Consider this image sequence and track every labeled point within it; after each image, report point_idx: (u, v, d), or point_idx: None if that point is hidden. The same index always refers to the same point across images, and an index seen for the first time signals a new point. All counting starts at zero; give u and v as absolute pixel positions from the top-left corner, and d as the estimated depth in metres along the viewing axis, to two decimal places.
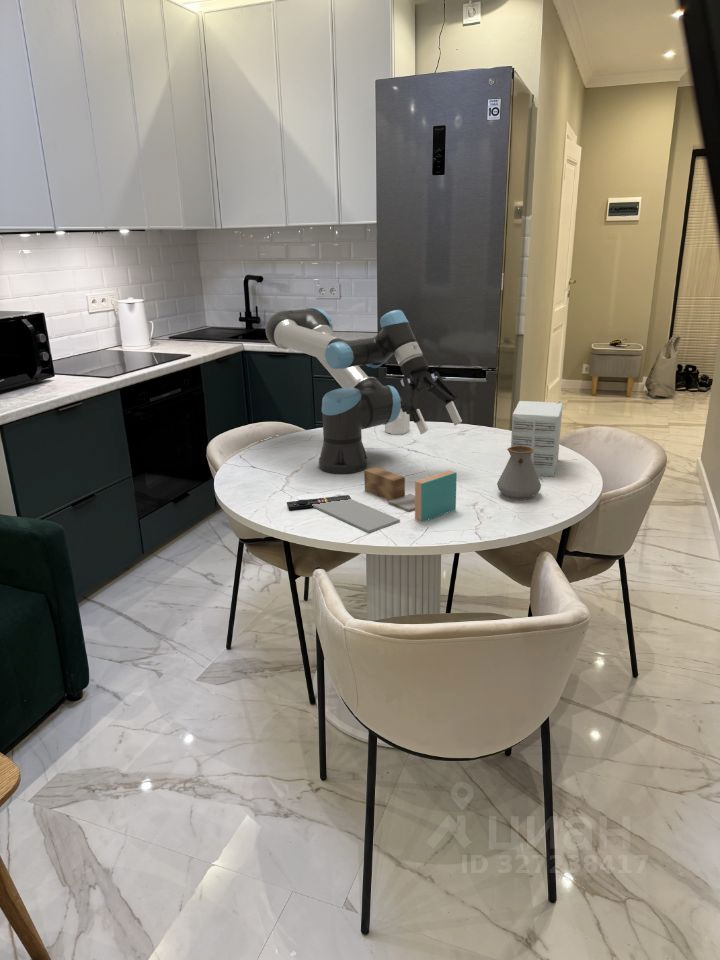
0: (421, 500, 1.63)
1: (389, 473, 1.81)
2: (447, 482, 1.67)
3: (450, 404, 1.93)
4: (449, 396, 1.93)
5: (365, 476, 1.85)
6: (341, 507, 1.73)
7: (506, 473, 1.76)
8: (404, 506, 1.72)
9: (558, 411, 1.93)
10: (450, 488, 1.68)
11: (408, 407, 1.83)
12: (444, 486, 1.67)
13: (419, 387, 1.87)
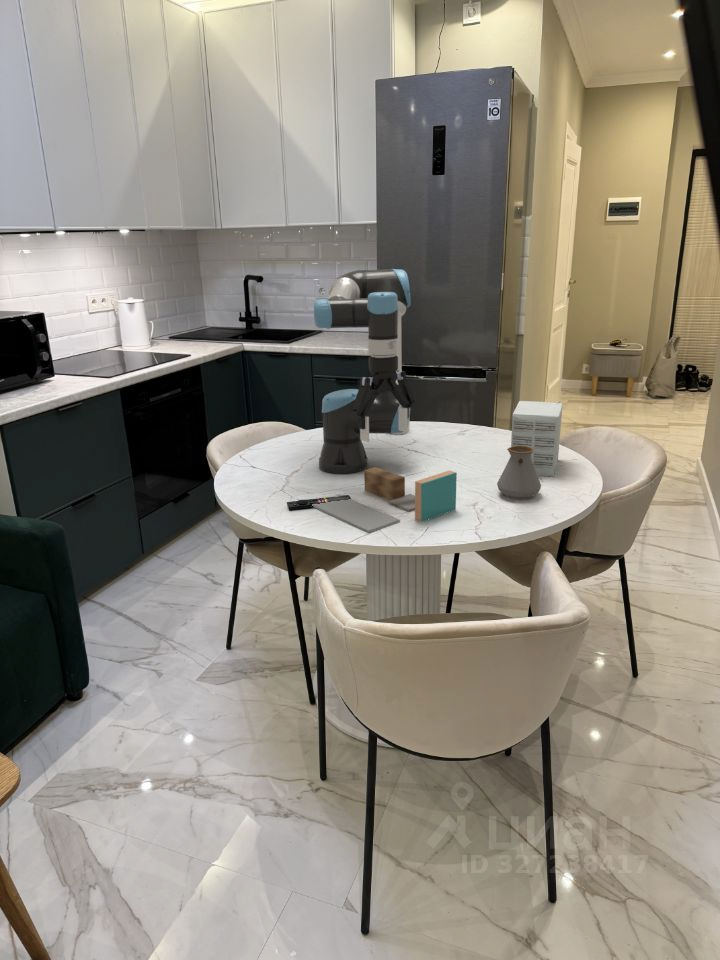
0: (421, 500, 1.63)
1: (389, 473, 1.81)
2: (447, 482, 1.67)
3: (403, 410, 1.79)
4: (406, 402, 1.78)
5: (365, 476, 1.85)
6: (341, 507, 1.73)
7: (506, 473, 1.76)
8: (404, 506, 1.72)
9: (558, 411, 1.93)
10: (450, 488, 1.68)
11: (358, 414, 1.68)
12: (444, 486, 1.67)
13: (378, 392, 1.70)
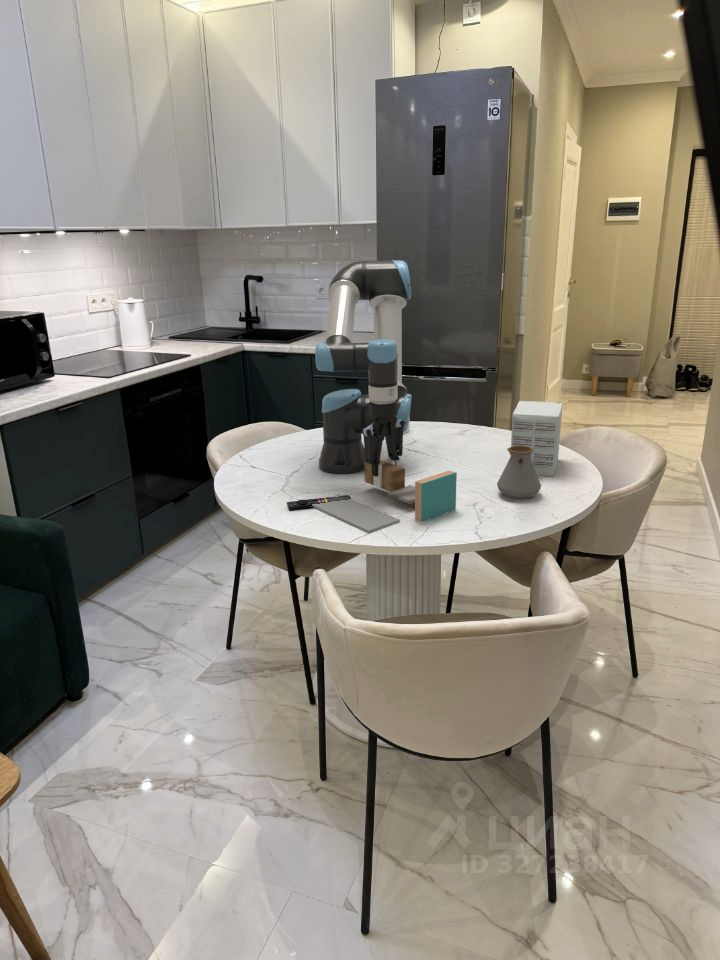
0: (421, 500, 1.63)
1: (389, 464, 1.81)
2: (447, 482, 1.67)
3: (391, 463, 1.81)
4: (395, 453, 1.81)
5: (365, 467, 1.84)
6: (341, 507, 1.73)
7: (506, 473, 1.76)
8: (404, 497, 1.72)
9: (558, 411, 1.93)
10: (450, 488, 1.68)
11: (372, 463, 1.76)
12: (444, 486, 1.67)
13: (382, 438, 1.76)
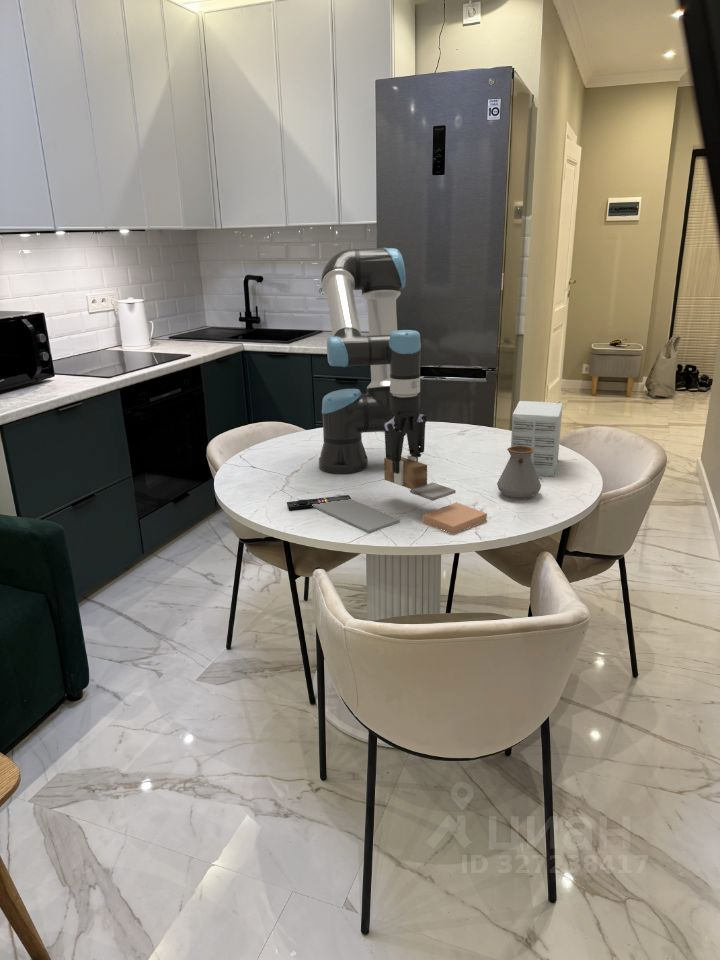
0: None
1: (410, 461, 1.73)
2: None
3: (412, 459, 1.74)
4: (416, 449, 1.73)
5: (385, 464, 1.77)
6: (341, 507, 1.73)
7: (506, 473, 1.76)
8: (427, 494, 1.64)
9: (558, 411, 1.93)
10: None
11: (393, 459, 1.69)
12: None
13: (404, 433, 1.68)
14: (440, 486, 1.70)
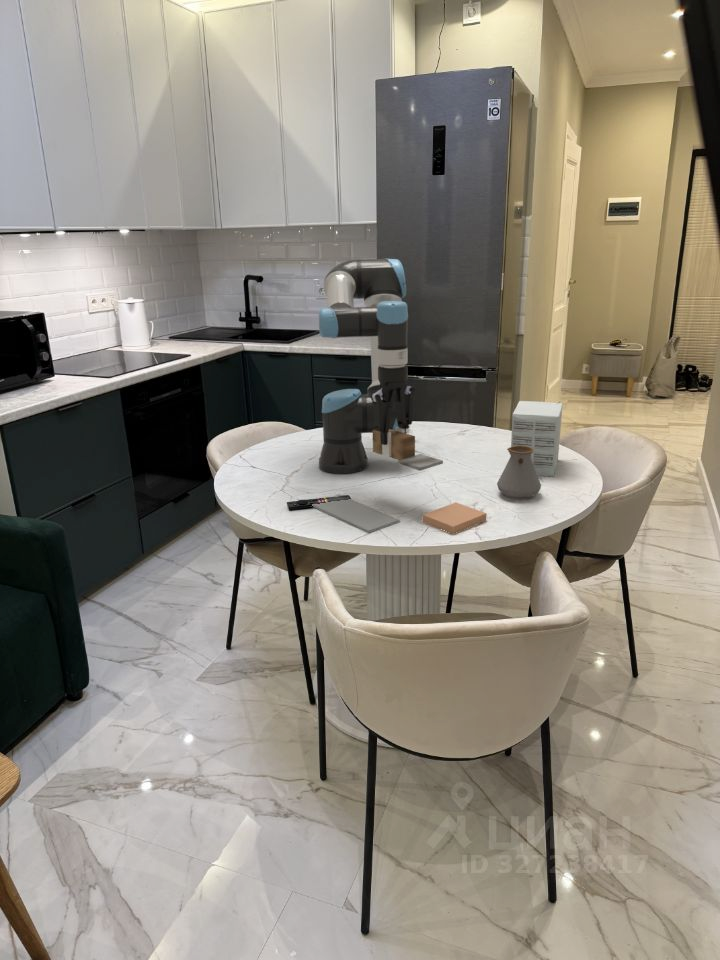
0: None
1: (398, 432, 1.74)
2: None
3: (400, 431, 1.75)
4: (404, 421, 1.74)
5: (373, 436, 1.78)
6: (341, 507, 1.73)
7: (506, 473, 1.76)
8: (415, 465, 1.65)
9: (558, 411, 1.93)
10: None
11: (381, 431, 1.70)
12: None
13: (392, 404, 1.69)
14: (428, 457, 1.71)
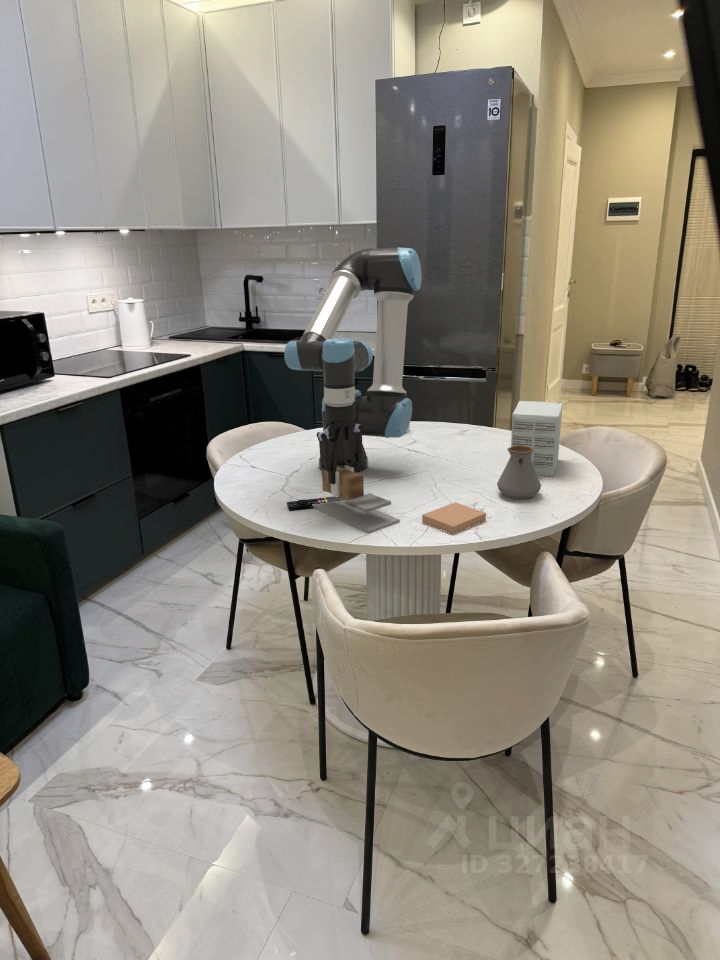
0: None
1: (347, 471, 1.70)
2: None
3: (349, 470, 1.71)
4: (353, 460, 1.70)
5: (323, 475, 1.73)
6: (341, 507, 1.73)
7: (506, 473, 1.76)
8: (361, 506, 1.61)
9: (558, 411, 1.93)
10: None
11: (328, 470, 1.65)
12: None
13: (339, 443, 1.65)
14: (376, 497, 1.66)
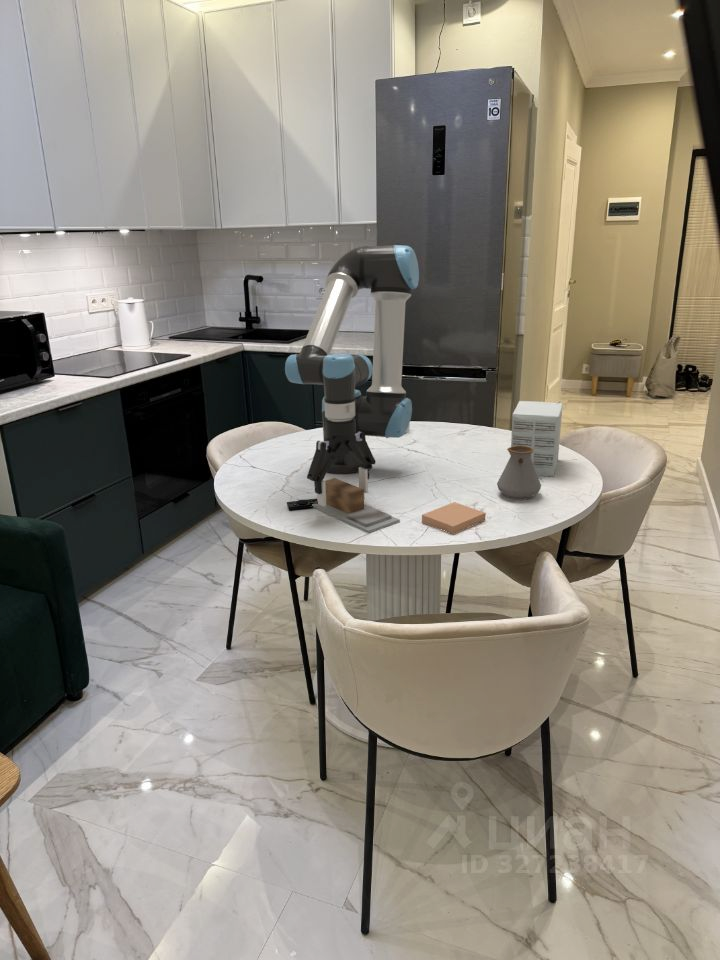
0: None
1: (348, 485, 1.71)
2: None
3: (363, 471, 1.74)
4: (366, 463, 1.73)
5: None
6: None
7: (506, 473, 1.76)
8: (362, 520, 1.62)
9: (558, 411, 1.93)
10: None
11: (313, 480, 1.63)
12: None
13: (335, 456, 1.65)
14: (377, 511, 1.68)
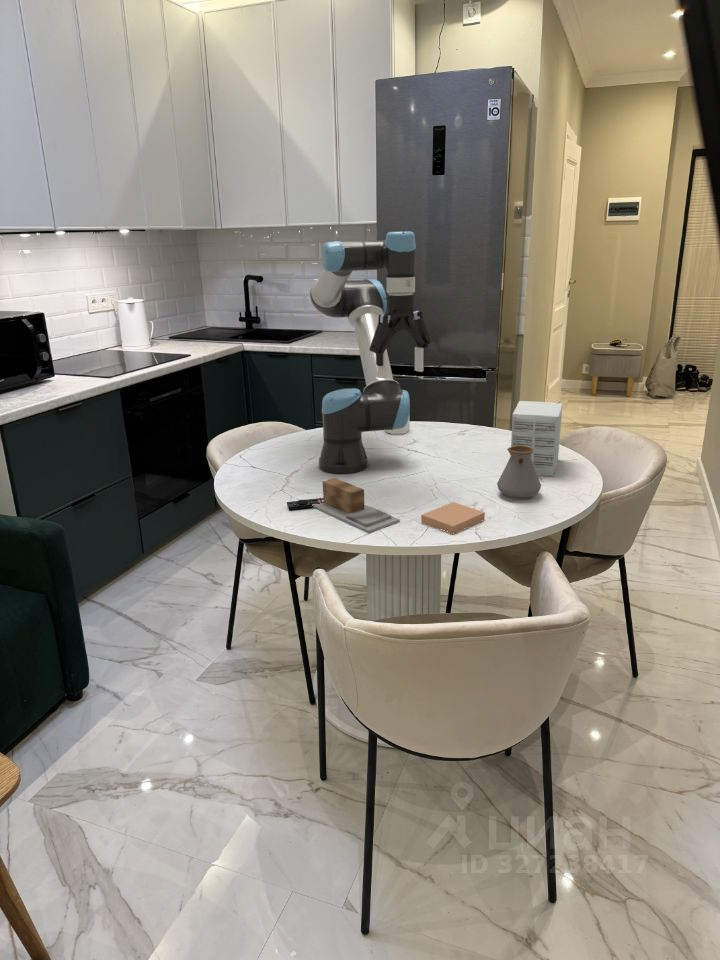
0: None
1: (348, 485, 1.71)
2: None
3: (419, 350, 1.84)
4: (422, 342, 1.84)
5: (324, 488, 1.75)
6: None
7: (506, 473, 1.76)
8: (362, 520, 1.62)
9: (558, 411, 1.93)
10: None
11: (376, 351, 1.74)
12: None
13: (396, 329, 1.76)
14: (377, 511, 1.68)
